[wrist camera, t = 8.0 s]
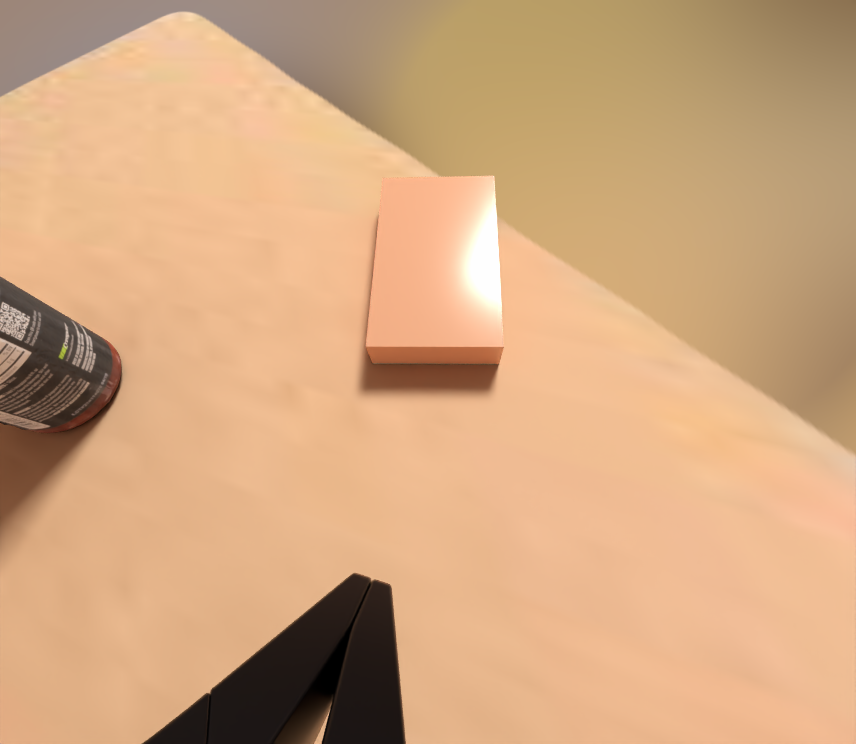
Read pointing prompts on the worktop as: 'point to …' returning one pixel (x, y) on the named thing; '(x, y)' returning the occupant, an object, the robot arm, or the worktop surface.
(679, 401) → the worktop surface
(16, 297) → the supplement bottle
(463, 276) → the tile
